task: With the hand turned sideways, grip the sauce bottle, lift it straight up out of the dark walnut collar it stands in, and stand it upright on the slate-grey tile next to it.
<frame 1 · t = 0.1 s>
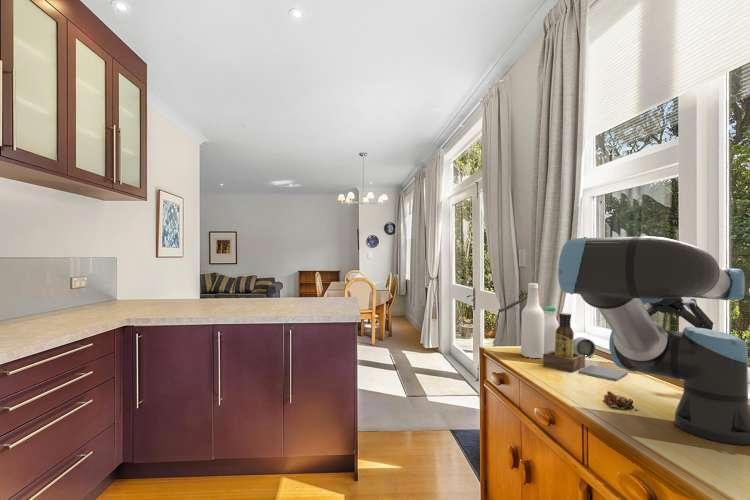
hand: (672, 340, 125), 15 cm above the cabinet, tool tilted 35°, fingers open, 13 cm apart
walnut collar: (563, 366, 150), on the cabinet
sauce bottle: (563, 367, 150), resting in walnut collar
milk bottle: (549, 355, 169), on the cabinet
slate tile: (603, 373, 142), on the cabinet
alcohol: (532, 357, 165), on the cabinet
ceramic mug: (579, 356, 169), on the cabinet
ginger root: (615, 405, 113), on the cabinet
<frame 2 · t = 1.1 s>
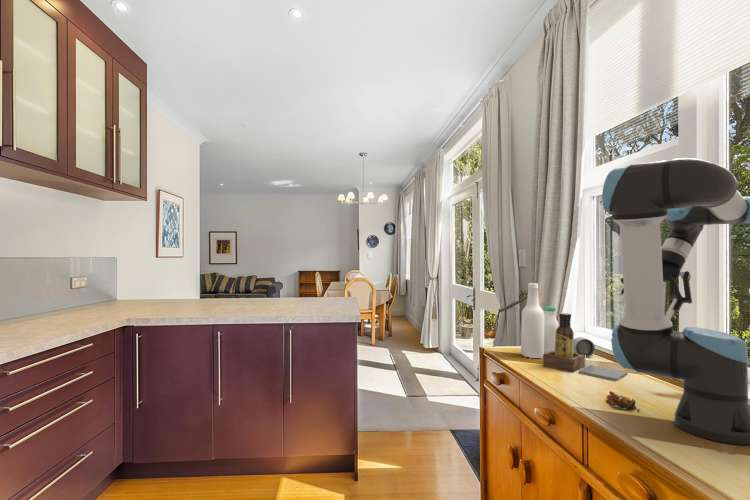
hand: (643, 311, 129), 24 cm above the cabinet, tool tilted 30°, fingers open, 13 cm apart
nothing on the cabinet moved.
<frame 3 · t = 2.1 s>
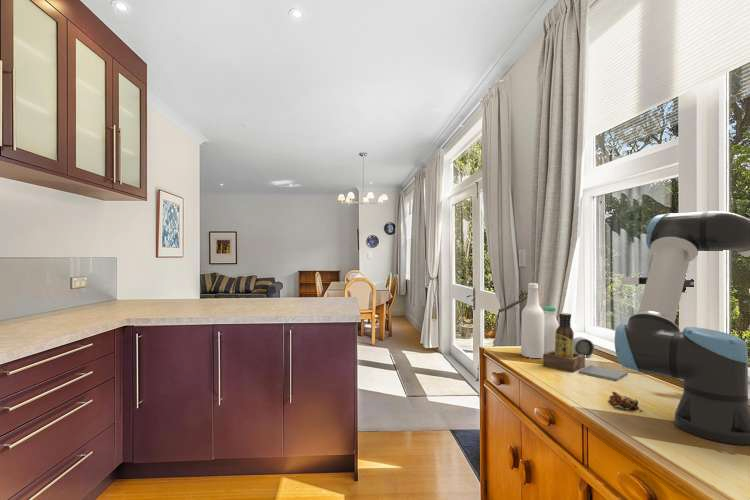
hand: (637, 282, 142), 32 cm above the cabinet, tool horizontal, fingers open, 13 cm apart
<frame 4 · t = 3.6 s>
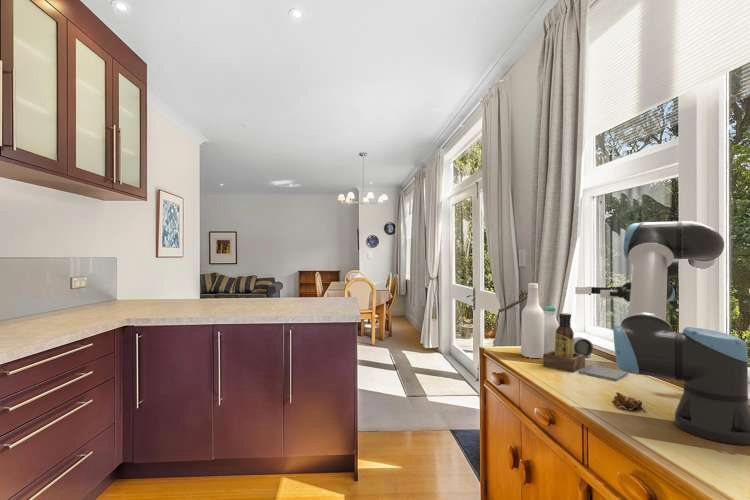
hand: (587, 292, 153), 28 cm above the cabinet, tool horizontal, fingers open, 13 cm apart
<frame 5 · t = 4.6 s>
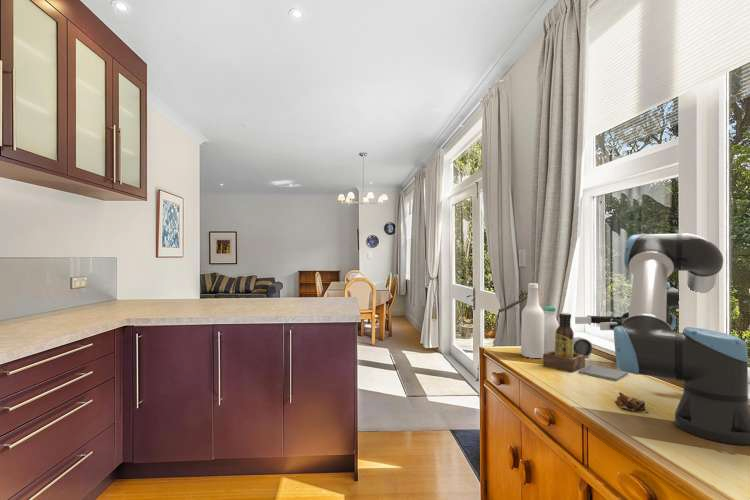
hand: (587, 323, 153), 16 cm above the cabinet, tool horizontal, fingers open, 13 cm apart
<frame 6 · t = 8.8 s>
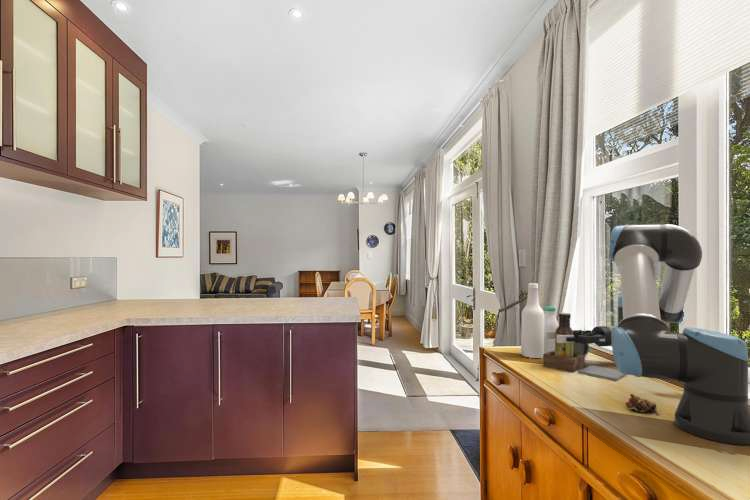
hand: (551, 337, 150), 11 cm above the cabinet, tool horizontal, fingers closed on sauce bottle, 6 cm apart
sauce bottle: (563, 367, 150), resting in walnut collar, touching gripper
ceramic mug: (573, 355, 169), on the cabinet
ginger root: (639, 408, 110), on the cabinet
everything else where it was.
when the fingers open (13 cm above the cabinet, at t = 15.0 s): sauce bottle drops 1 cm, resting on slate tile.
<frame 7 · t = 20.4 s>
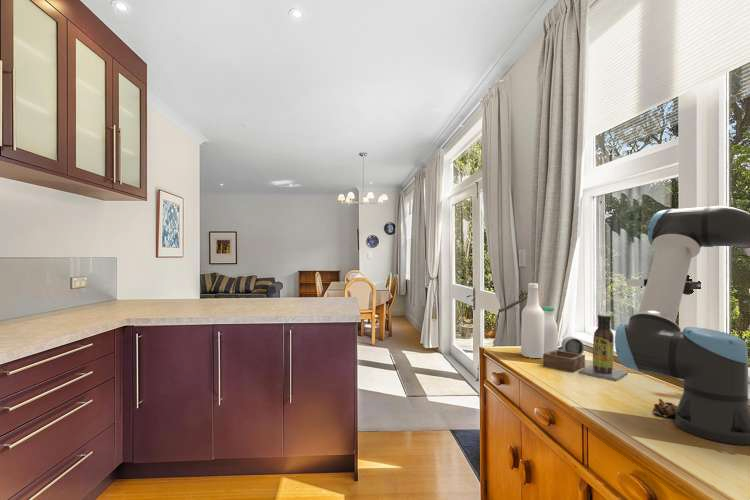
hand: (642, 283, 140), 32 cm above the cabinet, tool horizontal, fingers open, 13 cm apart
sauce bottle: (602, 372, 142), point 1 cm above the cabinet, touching slate tile
milk bottle: (547, 355, 169), on the cabinet, touching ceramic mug
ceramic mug: (568, 355, 170), on the cabinet, touching milk bottle
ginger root: (668, 414, 107), on the cabinet
everything else where it was.
at the end: sauce bottle inside the target area on the slate tile (0.1 cm from its centre), point 0.6 cm above the slate tile's base; sauce bottle tilted 0°; the gripper is holding nothing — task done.
